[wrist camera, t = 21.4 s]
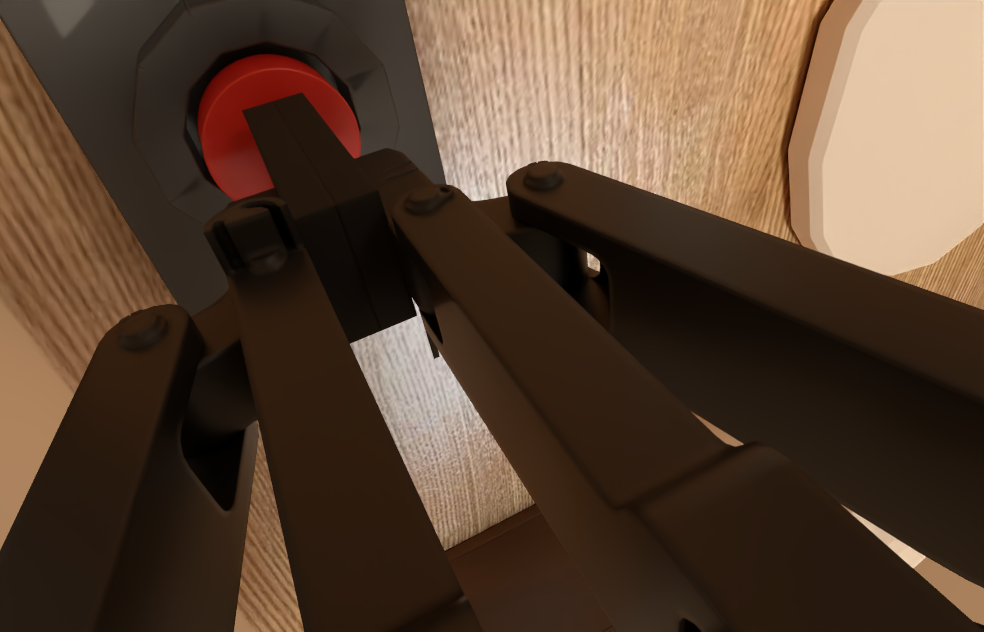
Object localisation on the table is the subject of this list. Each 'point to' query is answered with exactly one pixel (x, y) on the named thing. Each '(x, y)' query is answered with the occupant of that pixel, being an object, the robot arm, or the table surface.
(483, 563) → the cabinet
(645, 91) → the table surface
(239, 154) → the button
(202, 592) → the robot arm
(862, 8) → the decorative plate
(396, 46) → the button block
